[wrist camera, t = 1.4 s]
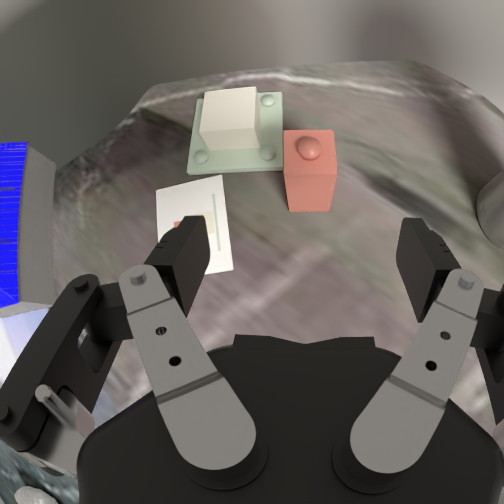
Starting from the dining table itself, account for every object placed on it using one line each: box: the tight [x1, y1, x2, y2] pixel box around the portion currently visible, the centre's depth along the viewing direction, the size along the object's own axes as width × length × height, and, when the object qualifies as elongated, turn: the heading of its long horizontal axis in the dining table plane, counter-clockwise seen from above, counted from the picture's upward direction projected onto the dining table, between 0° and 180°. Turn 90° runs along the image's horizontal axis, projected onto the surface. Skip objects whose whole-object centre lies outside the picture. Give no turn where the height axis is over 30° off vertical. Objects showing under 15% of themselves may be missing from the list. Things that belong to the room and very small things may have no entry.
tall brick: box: [283, 130, 337, 212], centre depth 31 cm, size 5×5×11 cm
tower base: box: [187, 87, 283, 175], centre depth 36 cm, size 12×12×6 cm
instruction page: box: [156, 175, 234, 275], centre depth 37 cm, size 9×12×1 cm
